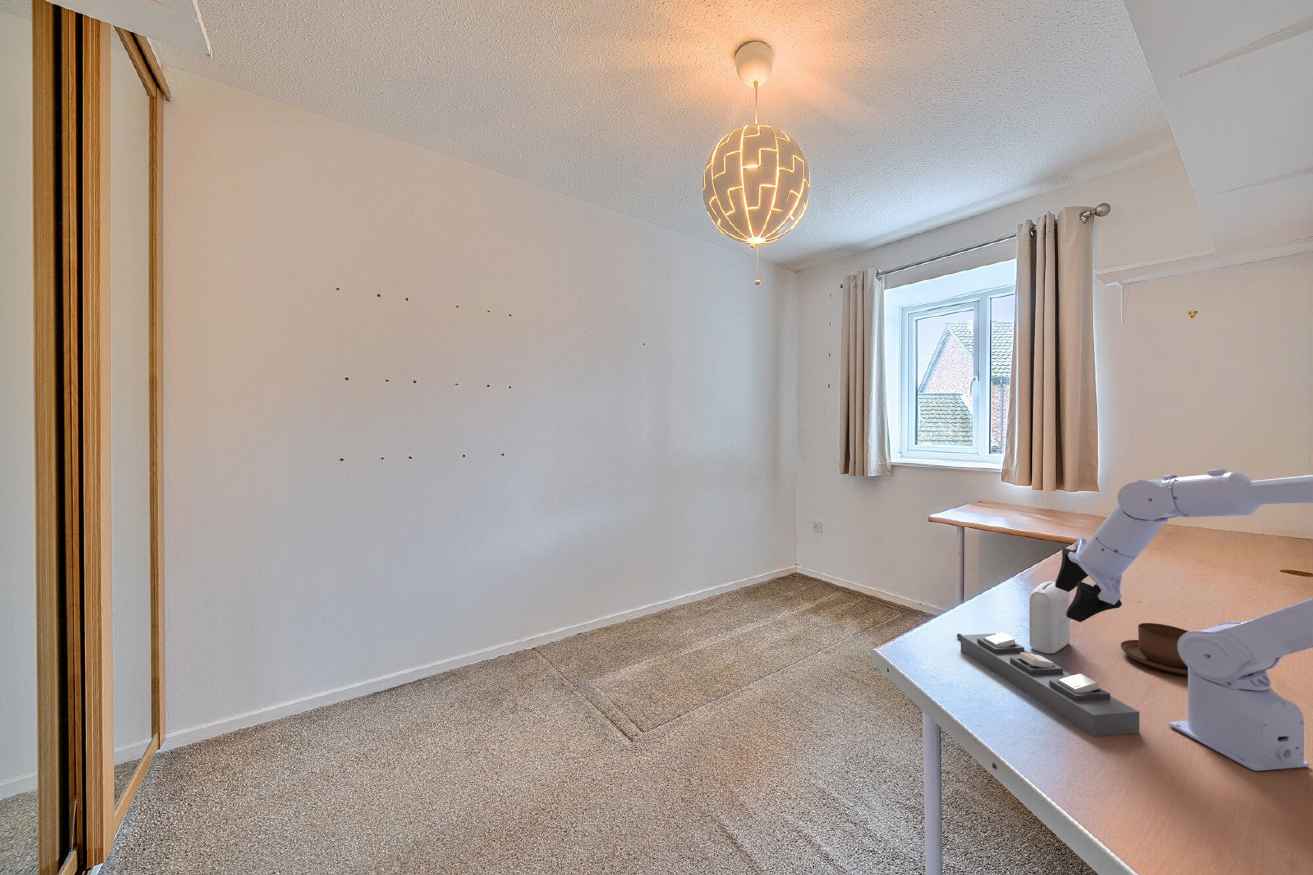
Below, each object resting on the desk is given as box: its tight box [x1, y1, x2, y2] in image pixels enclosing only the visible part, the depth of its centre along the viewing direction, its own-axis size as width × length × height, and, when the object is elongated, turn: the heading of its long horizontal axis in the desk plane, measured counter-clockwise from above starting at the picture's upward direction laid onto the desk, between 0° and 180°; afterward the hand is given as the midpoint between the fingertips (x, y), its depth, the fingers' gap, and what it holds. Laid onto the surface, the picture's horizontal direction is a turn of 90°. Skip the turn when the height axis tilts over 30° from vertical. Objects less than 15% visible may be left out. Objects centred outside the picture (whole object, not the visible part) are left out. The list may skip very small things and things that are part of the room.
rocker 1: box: [985, 632, 1016, 647], centre depth 88 cm, size 3×4×1 cm
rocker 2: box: [1059, 673, 1099, 693], centre depth 73 cm, size 3×4×1 cm
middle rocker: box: [1019, 652, 1055, 667], centre depth 80 cm, size 3×4×1 cm
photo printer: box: [1029, 581, 1071, 655], centre depth 94 cm, size 10×4×12 cm, turn 123°
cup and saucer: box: [1120, 622, 1189, 676], centre depth 86 cm, size 12×12×6 cm
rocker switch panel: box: [956, 632, 1140, 737], centre depth 83 cm, size 32×7×4 cm, turn 5°
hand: (1067, 602), depth 83 cm, fingers open, 7 cm apart
